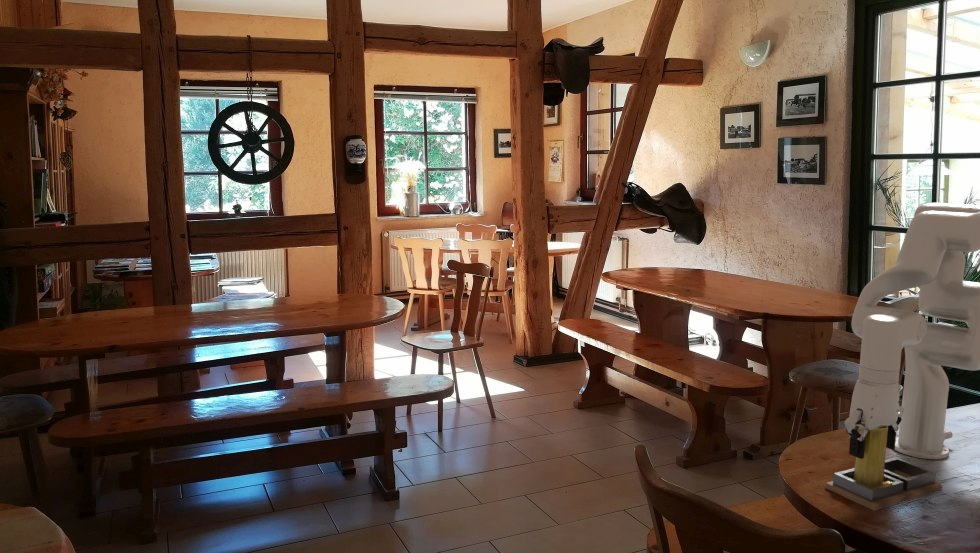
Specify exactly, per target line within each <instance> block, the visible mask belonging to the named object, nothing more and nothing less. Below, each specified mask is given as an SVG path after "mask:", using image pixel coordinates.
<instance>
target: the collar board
mask: <svg viewBox="0 0 980 553" xmlns="http://www.w3.org/2000/svg"><path fill="white" fill-rule="evenodd" d="M890 472H893V473H895V474H898V475H900V476H903V477H905V478H909V477H913V476H910V475H908V474H905V473H903V472H901V471H898V470H894V471H890ZM825 489H827V490H829V491H831V492H833V493H835V494H838V495H839V496H842V497H844V498H846V499H848V500H850V501H852V502H854V503H856V504H859V505H861V506H863V507H865V508H868V509H870V510H871V511H875V512H876V511H878V510H883V509H885V508H888V507H891V506H890V505H892V506H894V505H893V504H895V505H897V504H896V503H898V504H900V503H899V502H902V503H904V502H903V501H905V502H907V501H906V500H908V501H911V500H910V499H912V500H915V499H918V498H920V497H925V496H928V495H931V494H934V493H937V492H940V491H943V484H941V483H938V482H937V481H936V482H935V484H932V485H929V486H925V487H922V488H918V489H915V490H912V491H908V492H906V491H903V492H902V493H901V494H898V495H895V496H891V497H888V498H885V499H881V500H878V501H874V502H870V501H868V500H866V499H864V498H862V497H859V496H857V495H855V494H853V493H851V492H848V491H846V490H844V489H842V488H840V487H838V486H835V485H833V480H831V481H827V482H825Z"/></svg>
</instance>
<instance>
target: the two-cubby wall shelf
mask: <svg viewBox="0 0 980 553" xmlns="http://www.w3.org/2000/svg"><path fill="white" fill-rule="evenodd" d="M854 469H855V467H852V468H848V469H845V470H841V471H838V472H837V471H836V472H834V473H833V477H832V481H833V485H835V486H838V487H840V488H842V489H844V490H846V491H848V492H851V493H853V494H855V495H857V496H859V497H862V498H864V499H866V500H868V501H870V502H874V501H878V500H881V499H885V498H888V497H891V496H895V495H898V494H901V493H902V492H903V491H906V492H908V491H912V490H915V489H918V488H922V487H925V486H929V485H932V484H935V482H936V483H937V481H936V480H937V472H936V471H933V470H931V469H928V468H925V467H923V466H920V465H918V464H916V463H913V462H910V461H908V460H906V459H902V458H900V457H898V456H895V457H890V458H887V459H885V467H884V482H882V483H881V485H880V486H877V487H874V488H871V487H869V486H867V485H864V484H862V483H860V482H857V481H855V480H853V478H854ZM894 470H898V471H901V472H903V473H905V474H908V475H910V476H913V477H909V478H905V477H903V476H900V475H898V474H895V473H893V472H890V471H894Z"/></svg>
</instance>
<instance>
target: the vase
mask: <svg viewBox="0 0 980 553" xmlns="http://www.w3.org/2000/svg"><path fill="white" fill-rule="evenodd" d="M861 425H863V426H865V424H862V423H861ZM861 431H862V429H860V428H859V434H860V432H861ZM887 434H888V426H886V427H882V428H877V429H875V430H871V431H868V432H867V434H866V435H865V437H864V439H863V440H864V441H865V451H864V458H863V459H860V458H857V457H855V464H854V468H855V469H854V478H853V480H855V481H857V482H860V483H862V484H864V485H867V486H869V487H871V488H874V487H877V486H880V485H881V483H882V482H884V467H885V460H886V450H887V448H886V443H887Z"/></svg>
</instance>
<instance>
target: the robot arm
mask: <svg viewBox="0 0 980 553" xmlns="http://www.w3.org/2000/svg"><path fill="white" fill-rule="evenodd" d="M913 215H914V216H913V217H912V219H911V220H910V223H909V225H908V228H907V231H906V234H905V236H904V240H903V242H902V244H901V246H900V247H901V248H900V250H899V253H898V255H897V258H896V260H895V263H894V264H893V265H892V266H891V267H889V268H887V269H885V270H883V271H882V272H880V273H879V274H877V275H876V276H875V277H874V278H872V279H871V280H870V281H868V283H867V284H866V285H865V286H864V287H863V289H862V290H861V292H860V295H859V298H858V299H857V302H856V305H855V308H854V311H853V313H852V318H851V330H852V332H853V333H854V335H855V336H856V337H859V338H861V345H860V357H859V358H860V359H859V368H858V369H859V370H858V372H859V373H858V379H857V380H856V382H855V385H854V388H853V391H852V396H851V401H850V408H849V417H847V418H846V419H845V420H844V426H845V428H846V430H845V431H846V433H847V434H848V437H849V450H848V454H849V455H850V456H852V457H855V458H856V457H857V458H860V459H863V458H864V451H865V441H864V440H863V439H864V437H865V435H866V434H867V432H868V431H871V430H875V429H877V428H882V427H886V426H888V434H887V443H886V449H889V450H895V451H897V452H899V453H901V454H903V455H906V456H908V457H913V458H918V459H925V460H942V459H946V458H947V457H949V454H950V449H949V448H948V447H947V446H946V445H945V444H944V443H945V441H946V440H949V439H951V438H953V435H954V434H953V432H952V431H951V430H945V426H946V424H945V423H946V418H947V417H946V416H947V415H946V414H947V409H948V408H947V407H948V398H949V391H950V382H949V378H948V375H947V374H946V371H945V370H944V368H943V367H942V366H944V367H949V368H956V369H960V370H965V371H966V370H967V371H980V282H977V281H969V280H965V279H964V274H965V268H966V264H967V263H966V262H967V261H966V257H965V254H964V252H965V253H975V252H978V251H979V250H980V205H977V204H976V205H975V204H963V203H962V204H961V203H949V202H928V203H924V204H920V205H919V206H917V208H916V209H915V211H914V214H913ZM918 287H919V294H918V301H917V302H918V304H917V305H918V310H919V311H920V312H921V313H922V314H923V315H925V316H928V317H932V318H938V319H942V320H943V319H945V320H950V321H955V322H956V321H957V322H963V323H966V324H967V325H968V328H966V327H961V326H955V325H954V326H953V325H948V324H945V323H944V324H943V323H936V322H929V321H926V319H925V317H924V316H923V315H922V314H921V313H919V312H917V311H912V310H907V309H899V308H895V307H886V306H882V305H881V306H880V305H878V303H879V302H880V301H881V300H883V299H884V298H885V297H887V296H889V295H892V294H894V293H897V292H901V291H906V290H911V289H914V288H918ZM903 348H904V355H905V356H904V358H905V364H904V365H905V368H904V369H905V371H904V382H903V383H904V384H903V388H902V389H903V392H902V399H901V400H902V401H901V405H900V384H899V382H900V370H901V363H902V362H901V360H902V359H901V358H902V349H903ZM861 423H862V424H865V426H863V425H861ZM860 429H862V431H861V432H860V431H859V430H860ZM897 432H898V436H897ZM859 433H860V434H859Z"/></svg>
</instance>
